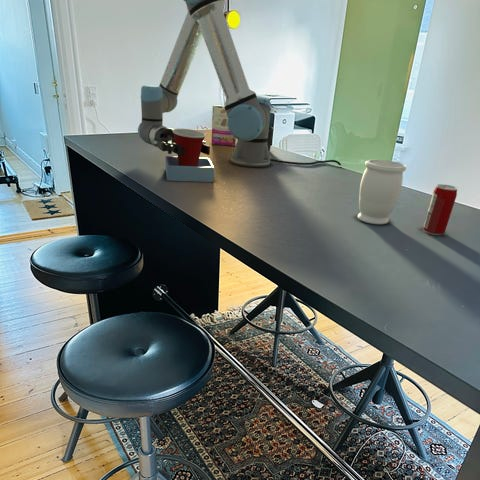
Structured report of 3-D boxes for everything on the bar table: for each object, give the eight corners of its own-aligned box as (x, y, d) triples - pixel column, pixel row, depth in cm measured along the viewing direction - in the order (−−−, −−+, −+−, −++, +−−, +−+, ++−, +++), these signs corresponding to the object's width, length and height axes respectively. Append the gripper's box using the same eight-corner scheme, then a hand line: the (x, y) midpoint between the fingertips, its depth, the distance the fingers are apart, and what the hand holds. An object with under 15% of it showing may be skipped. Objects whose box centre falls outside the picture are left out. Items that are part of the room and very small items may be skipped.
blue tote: (208, 171, 157) (209, 158, 154) (213, 182, 144) (214, 167, 142) (165, 169, 154) (165, 156, 152) (167, 180, 141) (166, 165, 139)
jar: (385, 229, 115) (400, 169, 107) (348, 220, 119) (359, 162, 112) (396, 219, 123) (411, 163, 115) (360, 211, 127) (372, 157, 120)
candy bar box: (236, 145, 209) (239, 106, 200) (234, 146, 204) (237, 107, 196) (213, 142, 210) (214, 104, 201) (211, 144, 206) (212, 105, 197)
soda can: (448, 235, 114) (464, 188, 108) (431, 236, 113) (445, 188, 107) (435, 228, 119) (449, 182, 113) (417, 228, 117) (431, 182, 111)
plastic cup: (189, 175, 141) (190, 134, 135) (165, 168, 147) (165, 129, 141) (211, 170, 149) (213, 132, 143) (187, 164, 154) (188, 127, 148)
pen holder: (251, 148, 204) (253, 124, 199) (271, 150, 203) (273, 126, 198) (248, 151, 196) (250, 127, 191) (269, 153, 195) (272, 129, 190)
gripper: (190, 148, 164) (223, 161, 149) (136, 150, 153) (165, 164, 138) (191, 126, 160) (225, 137, 145) (135, 127, 149) (165, 139, 134)
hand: (196, 151), depth 141 cm, fingers closed on plastic cup, 9 cm apart
